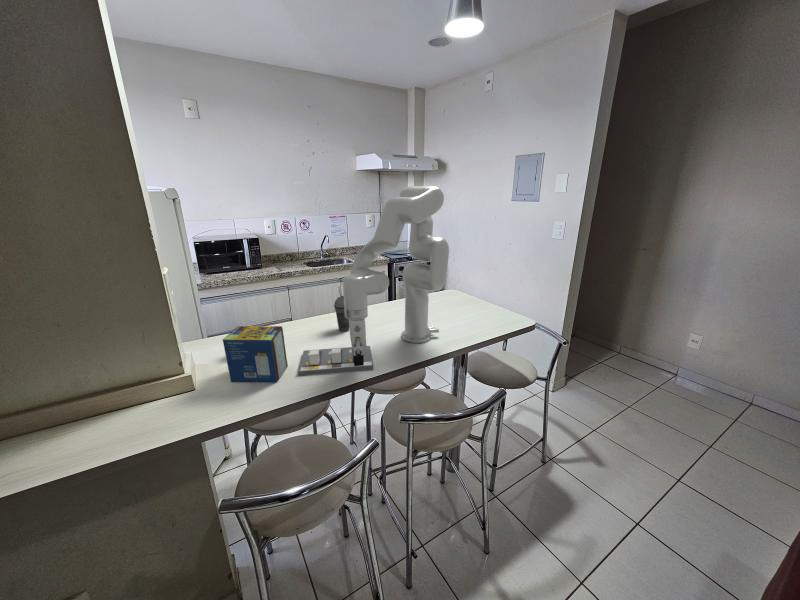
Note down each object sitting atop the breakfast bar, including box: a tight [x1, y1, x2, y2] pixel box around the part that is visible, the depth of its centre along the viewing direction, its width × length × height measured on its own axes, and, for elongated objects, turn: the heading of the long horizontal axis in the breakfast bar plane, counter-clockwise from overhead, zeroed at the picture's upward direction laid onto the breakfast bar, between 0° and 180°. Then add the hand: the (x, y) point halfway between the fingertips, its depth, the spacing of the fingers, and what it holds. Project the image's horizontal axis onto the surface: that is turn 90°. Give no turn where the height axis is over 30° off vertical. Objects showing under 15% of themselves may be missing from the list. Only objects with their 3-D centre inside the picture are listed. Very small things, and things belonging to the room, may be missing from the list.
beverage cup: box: [333, 286, 350, 333], centre depth 141 cm, size 7×7×20 cm
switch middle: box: [331, 347, 342, 363], centre depth 114 cm, size 3×3×4 cm
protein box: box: [222, 325, 289, 384], centre depth 107 cm, size 10×15×16 cm
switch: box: [309, 349, 320, 365], centre depth 113 cm, size 3×3×4 cm
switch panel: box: [298, 345, 374, 376], centre depth 117 cm, size 25×15×2 cm, turn 99°
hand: (358, 358), depth 112 cm, fingers open, 9 cm apart
